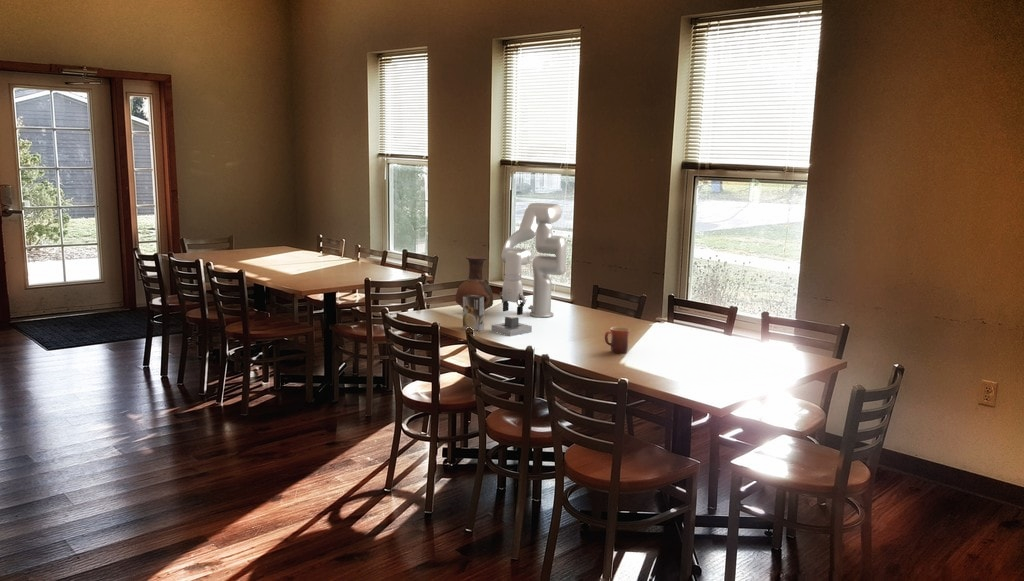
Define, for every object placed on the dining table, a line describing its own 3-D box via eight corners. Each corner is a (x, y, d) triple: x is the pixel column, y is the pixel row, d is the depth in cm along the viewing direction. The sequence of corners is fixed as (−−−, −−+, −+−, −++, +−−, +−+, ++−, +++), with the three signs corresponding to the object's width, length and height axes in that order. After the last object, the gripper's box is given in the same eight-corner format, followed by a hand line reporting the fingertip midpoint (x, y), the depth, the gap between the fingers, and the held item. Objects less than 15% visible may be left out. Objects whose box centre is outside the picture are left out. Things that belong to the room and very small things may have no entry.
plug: (504, 331, 378) (505, 316, 376) (511, 330, 381) (512, 315, 379) (511, 333, 374) (511, 317, 373) (518, 332, 377) (518, 316, 376)
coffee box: (484, 328, 382) (485, 295, 380) (479, 331, 377) (480, 297, 374) (467, 326, 386) (468, 294, 383) (461, 329, 380) (462, 296, 377)
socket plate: (491, 331, 377) (491, 323, 377) (512, 327, 387) (512, 320, 386) (510, 336, 368) (510, 328, 367) (531, 332, 378) (531, 324, 377)
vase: (504, 315, 414) (505, 258, 409) (474, 320, 401) (475, 261, 396) (473, 308, 432) (474, 253, 427) (444, 312, 419) (445, 255, 414)
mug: (621, 348, 350) (622, 326, 348) (633, 353, 342) (634, 330, 340) (598, 351, 344) (599, 328, 342) (610, 356, 337) (611, 332, 335)
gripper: (494, 275, 377) (494, 310, 380) (520, 281, 364) (519, 317, 368) (506, 273, 382) (505, 308, 385) (531, 279, 370) (531, 314, 373)
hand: (512, 312), depth 377 cm, fingers open, 9 cm apart
